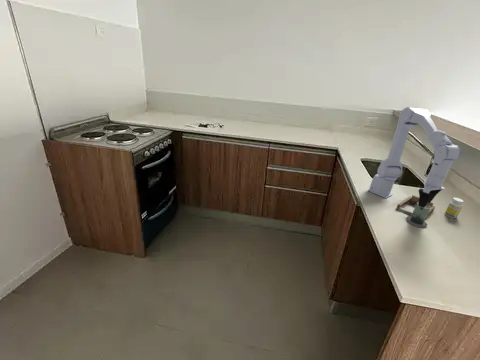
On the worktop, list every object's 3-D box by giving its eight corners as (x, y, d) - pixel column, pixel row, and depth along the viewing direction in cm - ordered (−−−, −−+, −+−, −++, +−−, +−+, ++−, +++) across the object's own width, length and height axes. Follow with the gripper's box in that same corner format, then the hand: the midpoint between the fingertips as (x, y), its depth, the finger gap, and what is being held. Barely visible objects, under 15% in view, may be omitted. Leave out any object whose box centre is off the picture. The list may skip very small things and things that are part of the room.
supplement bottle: (451, 213, 130) (459, 197, 127) (459, 218, 126) (467, 202, 122) (442, 212, 130) (449, 196, 126) (449, 217, 125) (457, 201, 122)
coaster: (402, 220, 118) (403, 219, 118) (409, 215, 123) (410, 214, 123) (423, 230, 113) (423, 228, 113) (429, 224, 118) (429, 222, 118)
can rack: (395, 208, 128) (398, 201, 126) (407, 200, 137) (410, 193, 135) (422, 220, 120) (426, 212, 118) (433, 211, 130) (436, 203, 128)
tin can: (407, 219, 118) (414, 203, 115) (412, 216, 121) (419, 200, 118) (420, 225, 115) (428, 209, 111) (425, 222, 118) (432, 206, 114)
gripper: (444, 182, 101) (429, 213, 107) (454, 174, 111) (440, 203, 116) (423, 175, 106) (410, 205, 112) (434, 168, 115) (422, 196, 121)
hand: (424, 204), depth 114 cm, fingers open, 7 cm apart
